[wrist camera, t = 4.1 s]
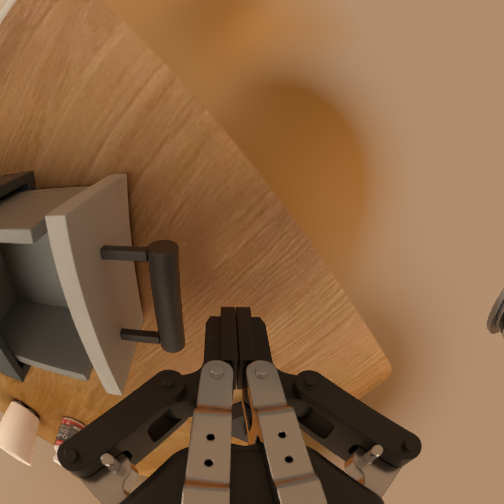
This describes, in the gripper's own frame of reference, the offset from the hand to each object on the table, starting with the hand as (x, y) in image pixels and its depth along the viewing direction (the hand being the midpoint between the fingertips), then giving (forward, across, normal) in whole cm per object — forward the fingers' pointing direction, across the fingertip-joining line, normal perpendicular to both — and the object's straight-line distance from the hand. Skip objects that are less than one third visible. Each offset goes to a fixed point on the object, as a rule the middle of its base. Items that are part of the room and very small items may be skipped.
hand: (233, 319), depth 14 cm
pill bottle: (+7, +28, +37) cm, 47 cm away
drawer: (+6, +12, 0) cm, 14 cm away
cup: (+8, +43, +40) cm, 59 cm away
